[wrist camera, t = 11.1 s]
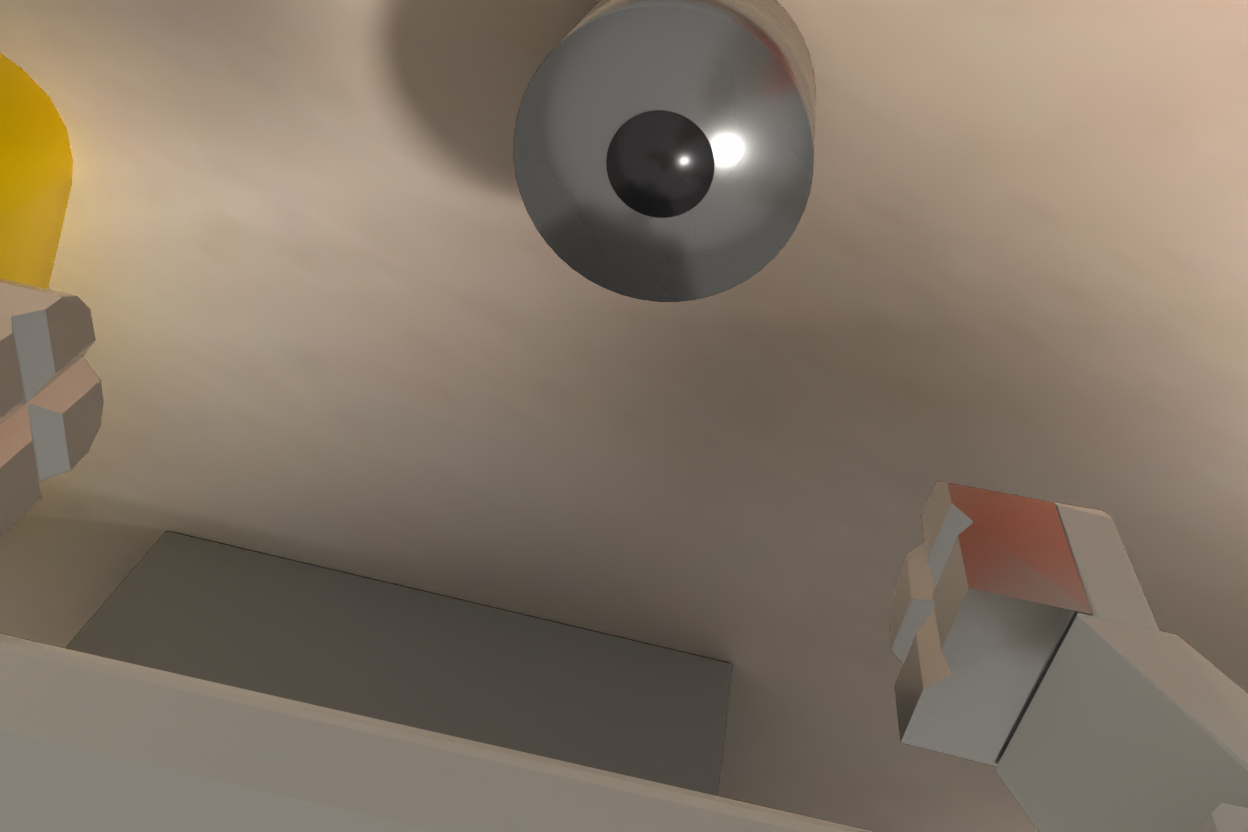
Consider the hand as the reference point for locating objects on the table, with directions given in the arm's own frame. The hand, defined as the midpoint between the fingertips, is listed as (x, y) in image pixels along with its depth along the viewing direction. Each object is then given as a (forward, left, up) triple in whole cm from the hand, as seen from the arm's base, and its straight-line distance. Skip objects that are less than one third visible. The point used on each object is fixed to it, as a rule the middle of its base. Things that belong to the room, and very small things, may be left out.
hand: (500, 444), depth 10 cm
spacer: (0, 0, -13) cm, 13 cm away
